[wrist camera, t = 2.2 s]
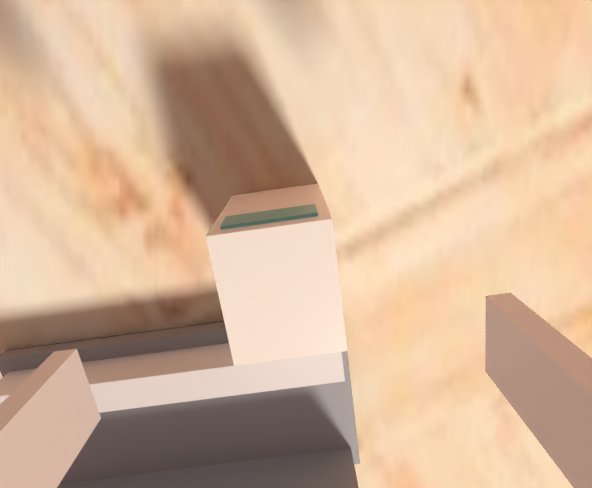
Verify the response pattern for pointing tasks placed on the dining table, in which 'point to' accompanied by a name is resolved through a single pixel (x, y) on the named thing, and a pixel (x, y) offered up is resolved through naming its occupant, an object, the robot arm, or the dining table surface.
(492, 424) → the dining table surface
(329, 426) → the rail base
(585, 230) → the dining table surface
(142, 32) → the dining table surface
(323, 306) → the block
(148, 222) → the dining table surface
